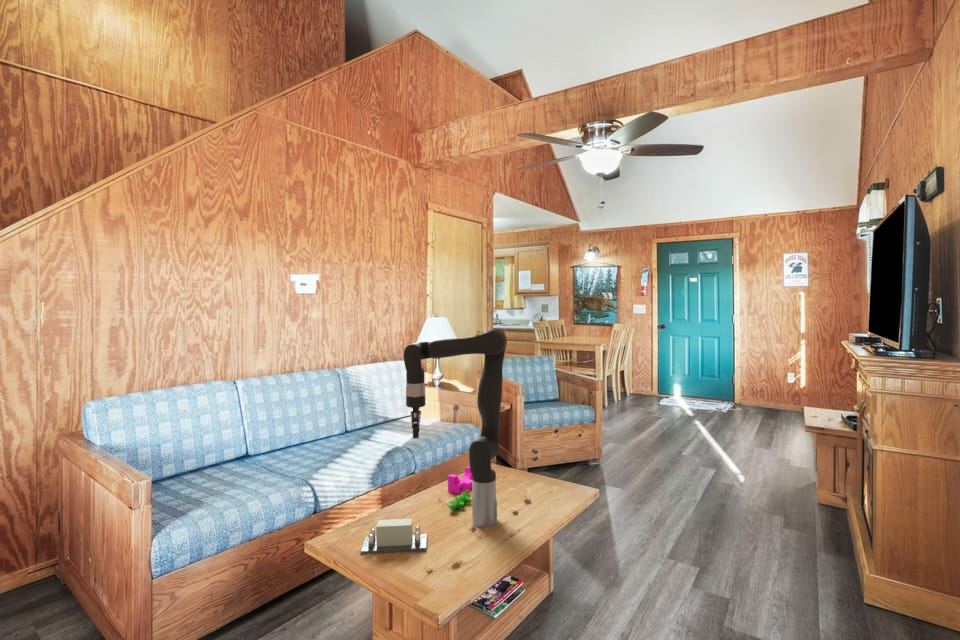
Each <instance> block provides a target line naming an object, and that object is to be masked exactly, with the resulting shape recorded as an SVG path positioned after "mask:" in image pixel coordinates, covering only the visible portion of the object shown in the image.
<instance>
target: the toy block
mask: <svg viewBox="0 0 960 640" xmlns="http://www.w3.org/2000/svg"><path fill="white" fill-rule="evenodd" d="M466 490H469V491H470V490H472V474H471V472H470V465H469V466H466V467H465V470H464V473H463V476H462V477H461V478H459V475H457V474H453V473H451V474H448V475H447V492H448V493H451V494H455V495H456V496H458V495H461V494H462V492H465V491H466Z"/></svg>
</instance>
